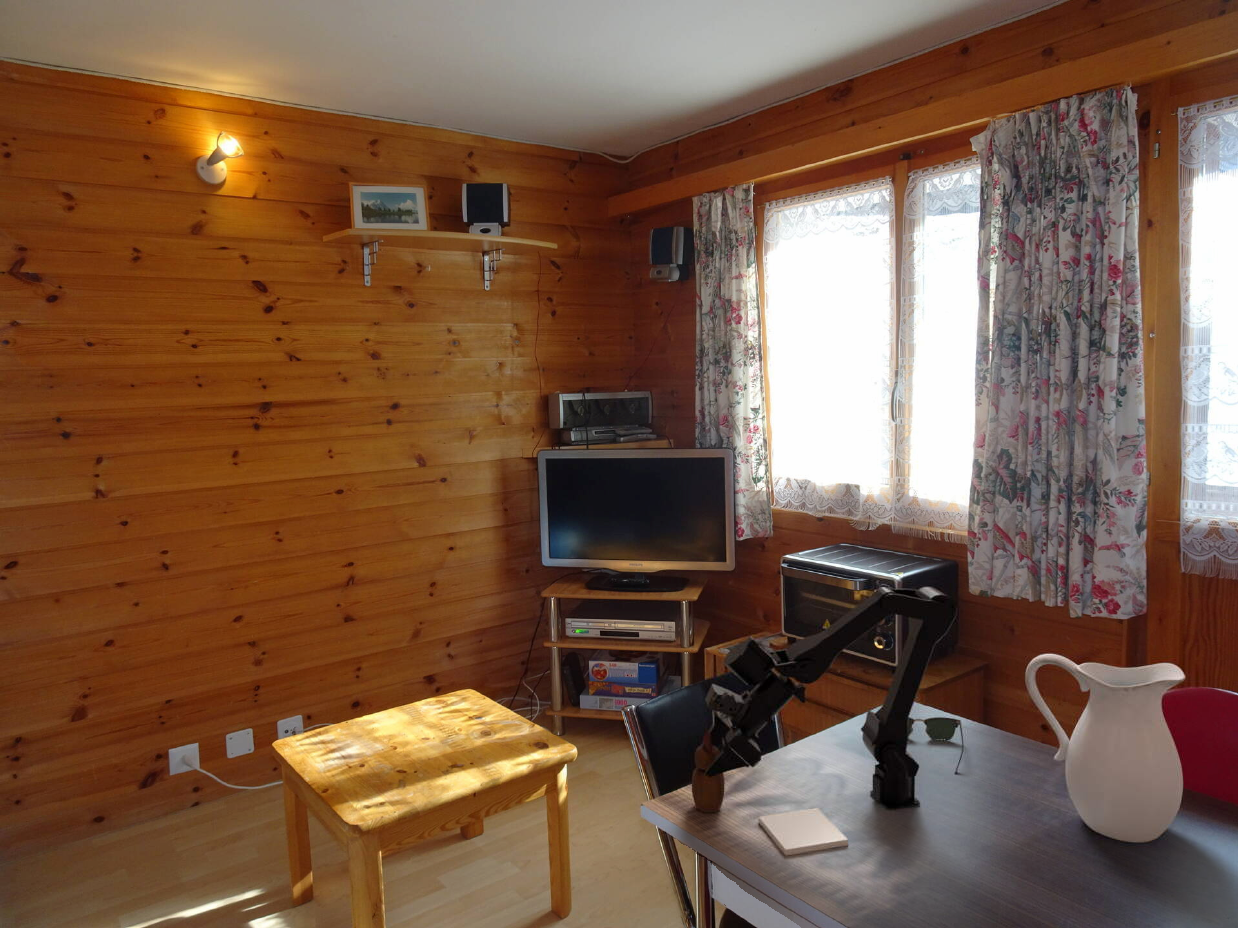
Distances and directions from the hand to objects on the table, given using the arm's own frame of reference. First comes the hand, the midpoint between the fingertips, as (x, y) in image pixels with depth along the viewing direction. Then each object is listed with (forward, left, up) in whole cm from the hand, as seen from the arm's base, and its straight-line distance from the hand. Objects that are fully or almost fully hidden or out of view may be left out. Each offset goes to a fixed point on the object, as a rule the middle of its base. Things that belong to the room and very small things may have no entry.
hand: (703, 763), depth 155 cm
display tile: (-13, +13, -8) cm, 20 cm away
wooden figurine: (-1, 0, -8) cm, 8 cm away
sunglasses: (-50, -8, -9) cm, 51 cm away
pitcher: (-63, +23, -8) cm, 67 cm away
